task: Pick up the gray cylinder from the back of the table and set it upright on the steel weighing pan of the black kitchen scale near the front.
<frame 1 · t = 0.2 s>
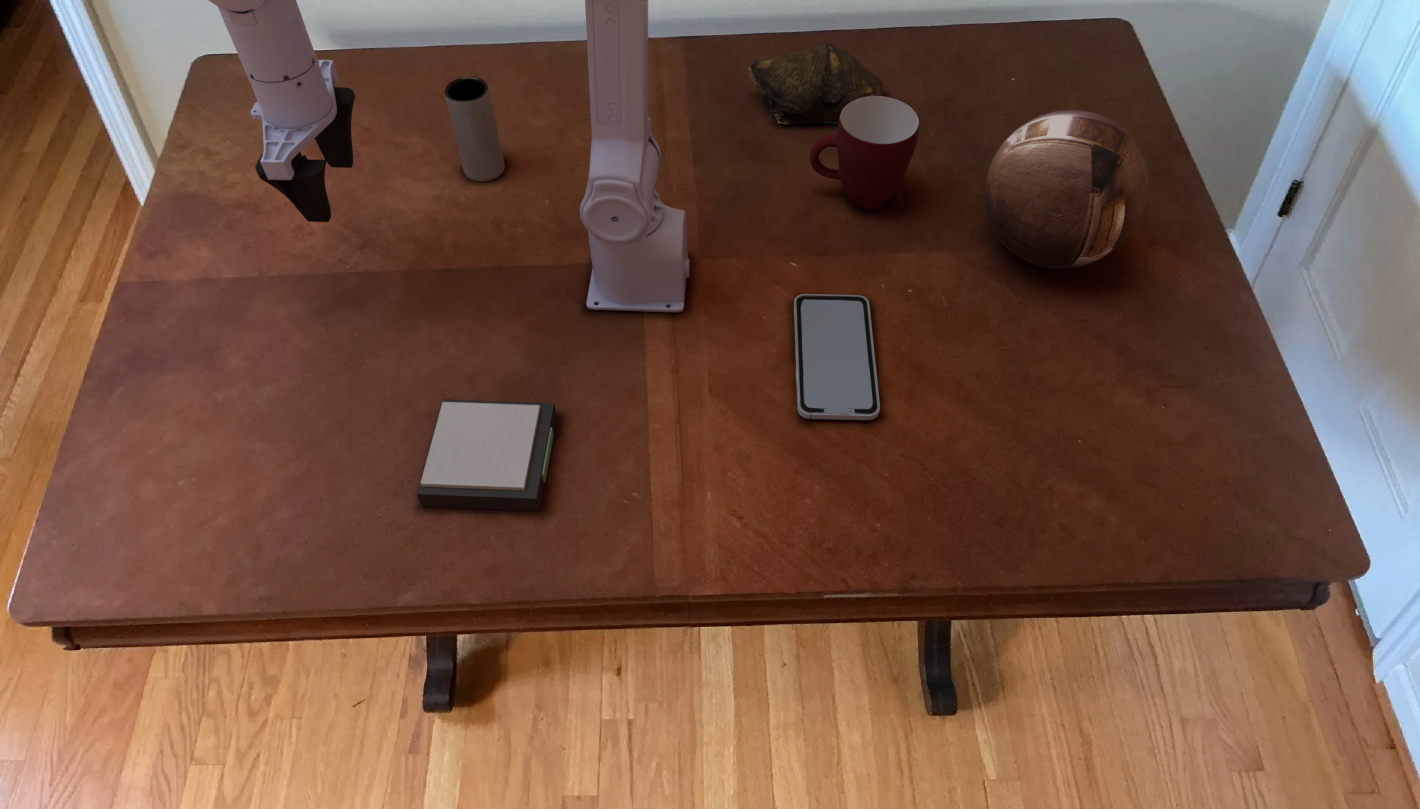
hand: (330, 191, 93), 10 cm above the table, tool pointing down, fingers open, 7 cm apart
shiny copper ball: (1043, 248, 103), on the table
seashell: (816, 108, 118), on the table
scale: (491, 460, 86), on the table
gray cylinder: (484, 170, 111), on the table
mug: (855, 198, 108), on the table
smartphone: (834, 358, 94), on the table
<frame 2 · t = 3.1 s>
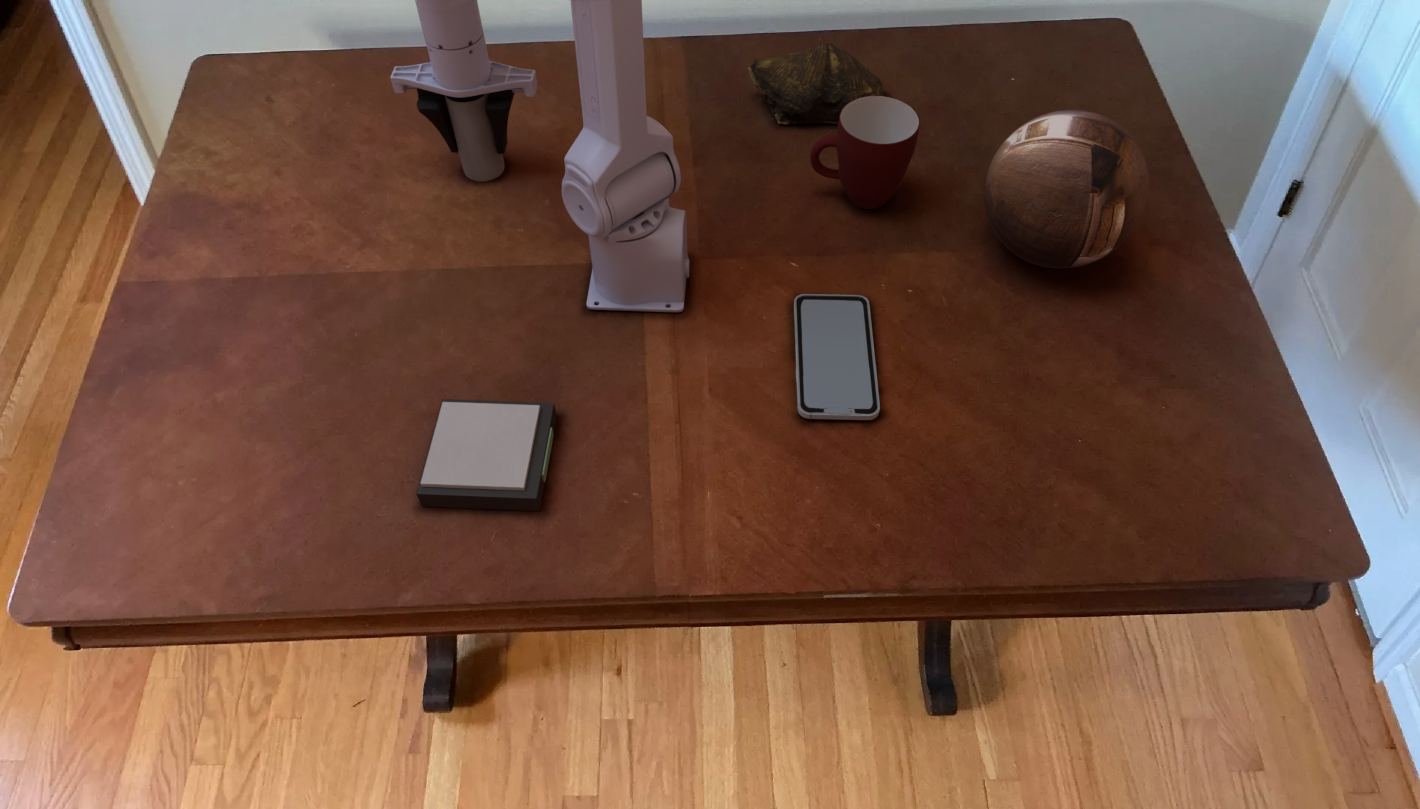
hand: (479, 147, 108), 3 cm above the table, tool pointing down, fingers closed on gray cylinder, 4 cm apart
gray cylinder: (484, 170, 111), on the table, touching gripper
everything else where it was.
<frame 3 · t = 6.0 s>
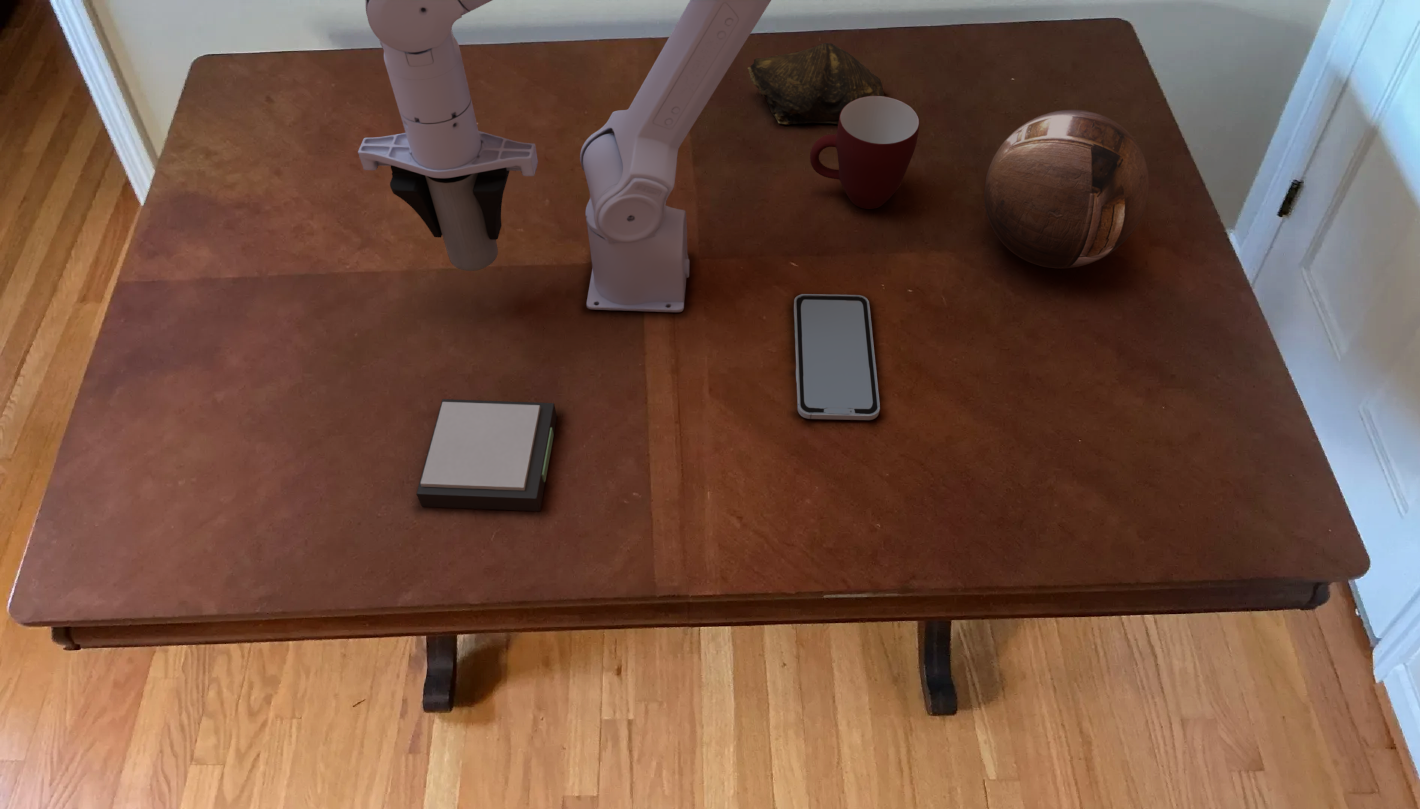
hand: (468, 231, 90), 10 cm above the table, tool pointing down, fingers closed on gray cylinder, 4 cm apart
gray cylinder: (474, 256, 92), point 7 cm above the table, touching gripper
everything else where it was.
when the fingers open (5 cm above the table, at t = 9.1 s): gray cylinder stays where it is, resting on scale.
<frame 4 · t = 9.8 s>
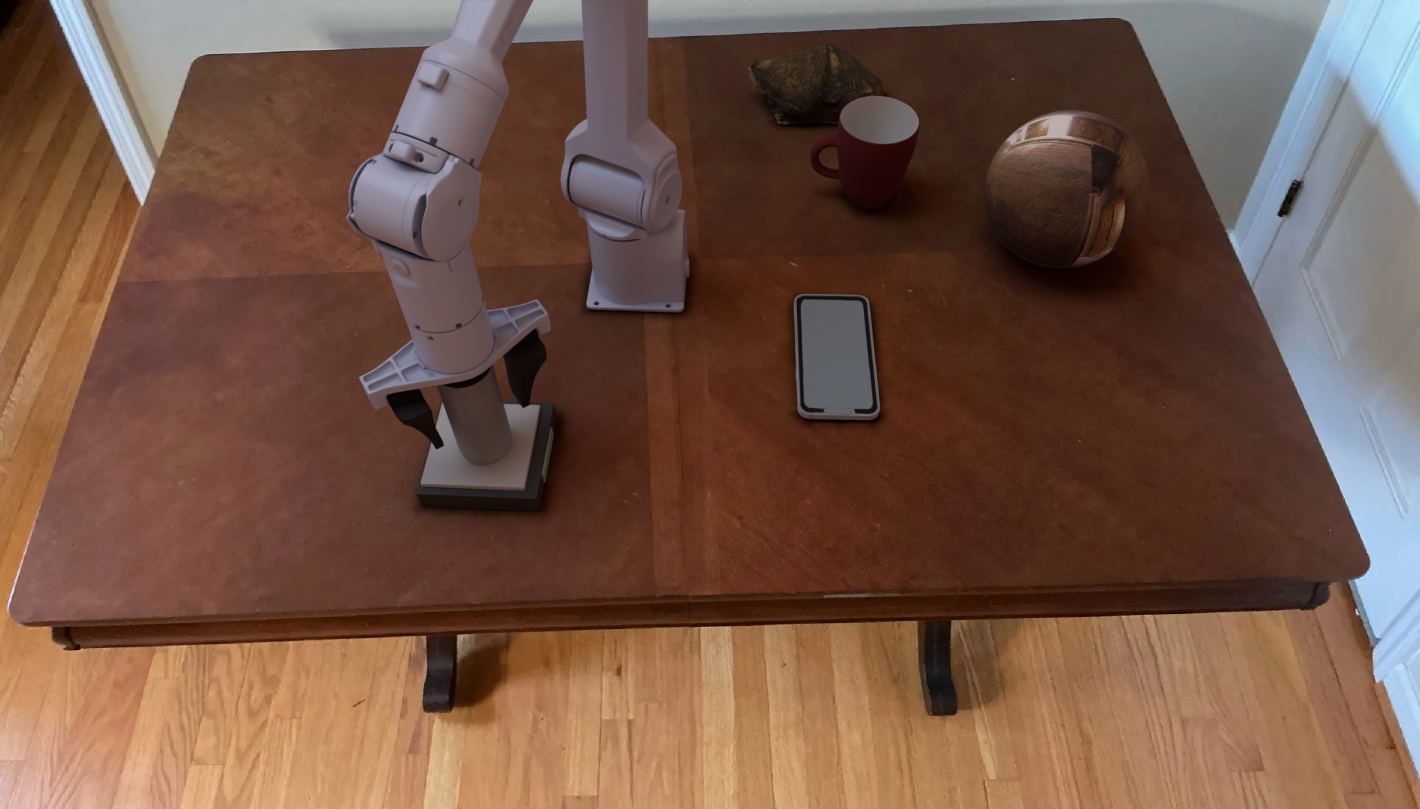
hand: (479, 418, 82), 6 cm above the table, tool pointing down, fingers open, 7 cm apart
gray cylinder: (486, 444, 85), point 2 cm above the table, touching scale
everything else where it was.
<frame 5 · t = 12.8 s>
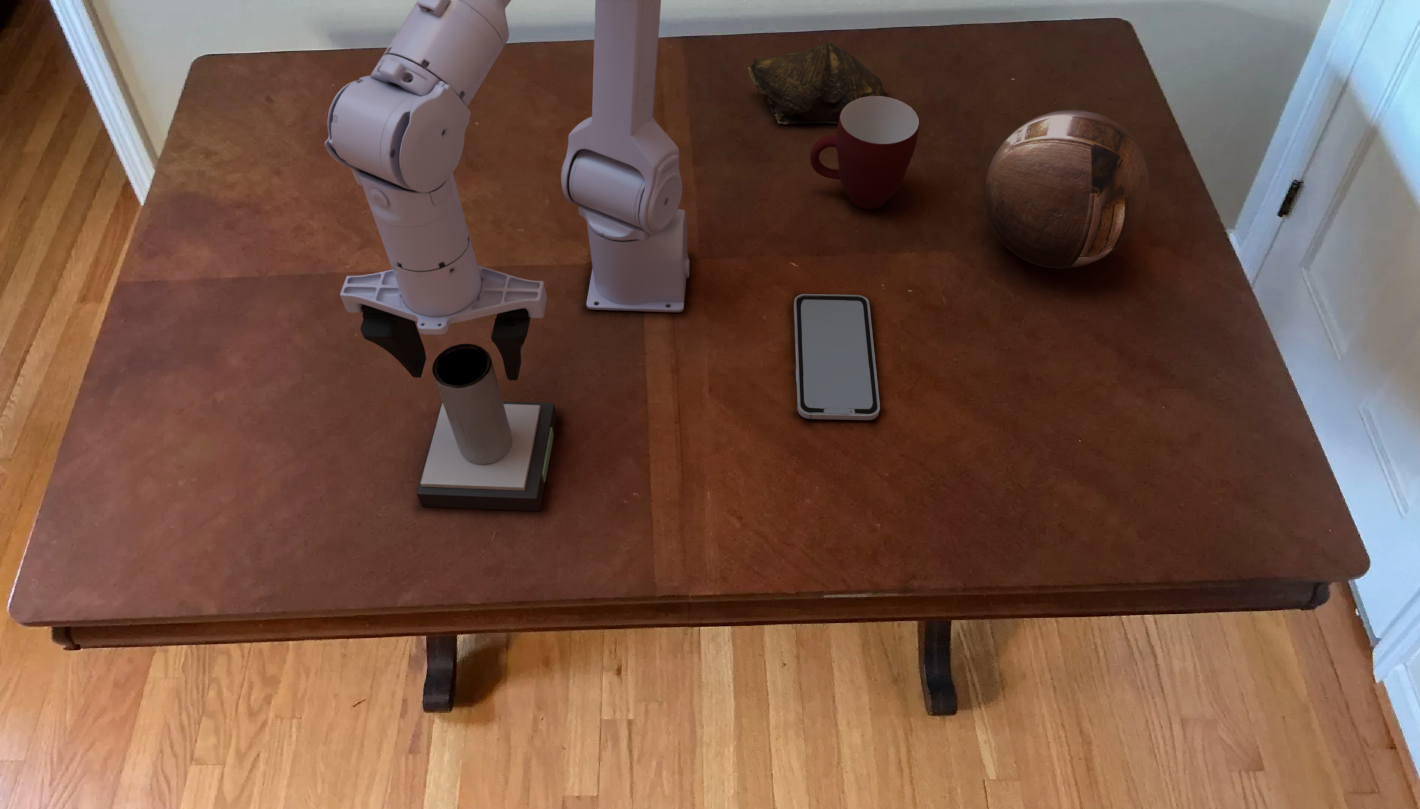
hand: (467, 369, 79), 10 cm above the table, tool pointing down, fingers open, 7 cm apart
nothing on the table moved.
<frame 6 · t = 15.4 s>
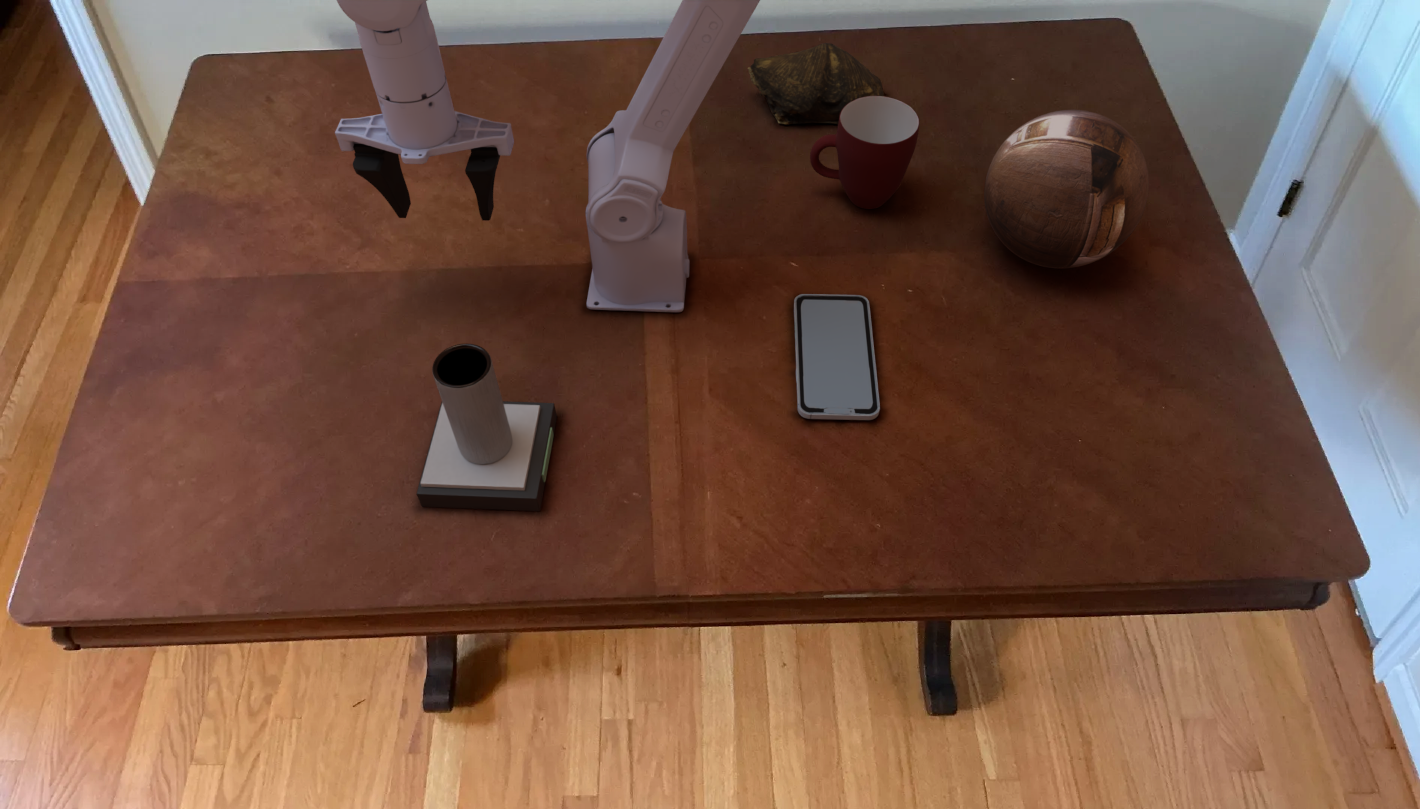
hand: (446, 212, 91), 10 cm above the table, tool pointing down, fingers open, 7 cm apart
nothing on the table moved.
at the end: gray cylinder 0.0 cm off-centre on the scale, point 2.3 cm above the scale's base; gray cylinder tilted 0°; the gripper is holding nothing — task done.
